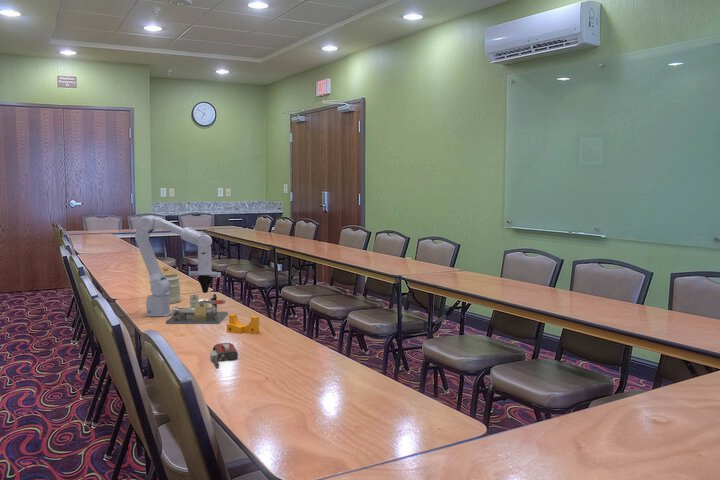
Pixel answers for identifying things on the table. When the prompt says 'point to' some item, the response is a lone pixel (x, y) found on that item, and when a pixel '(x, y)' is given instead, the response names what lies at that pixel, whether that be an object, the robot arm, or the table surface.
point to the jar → (172, 284)
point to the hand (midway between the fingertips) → (205, 292)
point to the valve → (195, 301)
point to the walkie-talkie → (223, 353)
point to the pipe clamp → (237, 327)
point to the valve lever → (212, 302)
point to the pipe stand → (196, 315)
